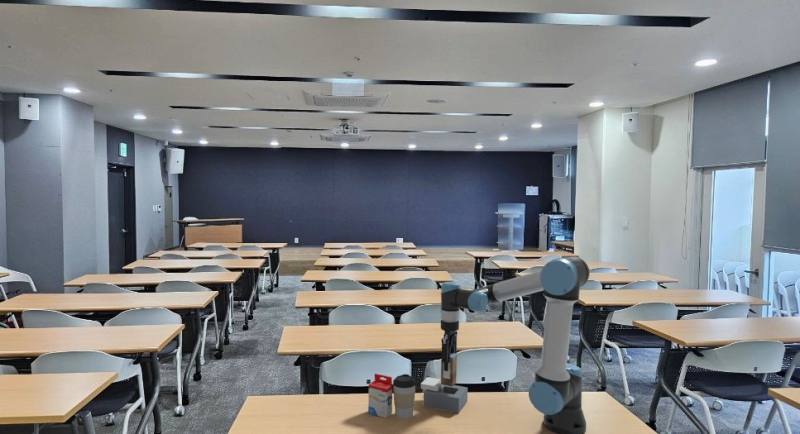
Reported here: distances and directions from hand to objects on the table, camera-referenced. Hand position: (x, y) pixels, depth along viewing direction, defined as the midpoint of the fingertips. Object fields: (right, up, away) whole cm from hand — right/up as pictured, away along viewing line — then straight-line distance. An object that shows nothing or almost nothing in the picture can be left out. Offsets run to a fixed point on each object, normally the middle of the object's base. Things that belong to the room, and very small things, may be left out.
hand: (448, 375), depth 190 cm
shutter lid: (-7, -6, +3) cm, 9 cm away
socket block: (-1, -12, +1) cm, 12 cm away
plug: (0, -3, 0) cm, 3 cm away
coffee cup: (-19, -12, -9) cm, 24 cm away
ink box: (-28, -12, -8) cm, 32 cm away
